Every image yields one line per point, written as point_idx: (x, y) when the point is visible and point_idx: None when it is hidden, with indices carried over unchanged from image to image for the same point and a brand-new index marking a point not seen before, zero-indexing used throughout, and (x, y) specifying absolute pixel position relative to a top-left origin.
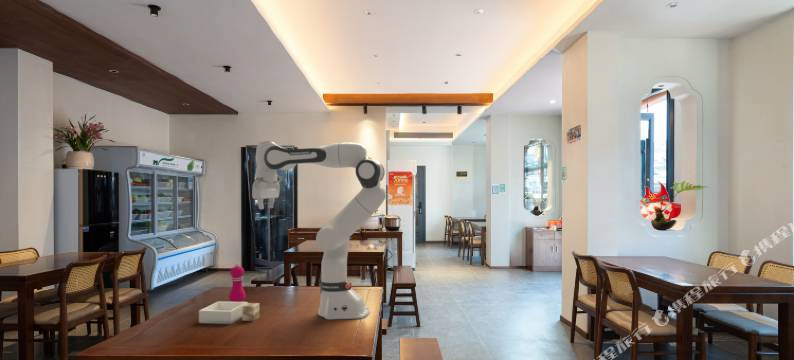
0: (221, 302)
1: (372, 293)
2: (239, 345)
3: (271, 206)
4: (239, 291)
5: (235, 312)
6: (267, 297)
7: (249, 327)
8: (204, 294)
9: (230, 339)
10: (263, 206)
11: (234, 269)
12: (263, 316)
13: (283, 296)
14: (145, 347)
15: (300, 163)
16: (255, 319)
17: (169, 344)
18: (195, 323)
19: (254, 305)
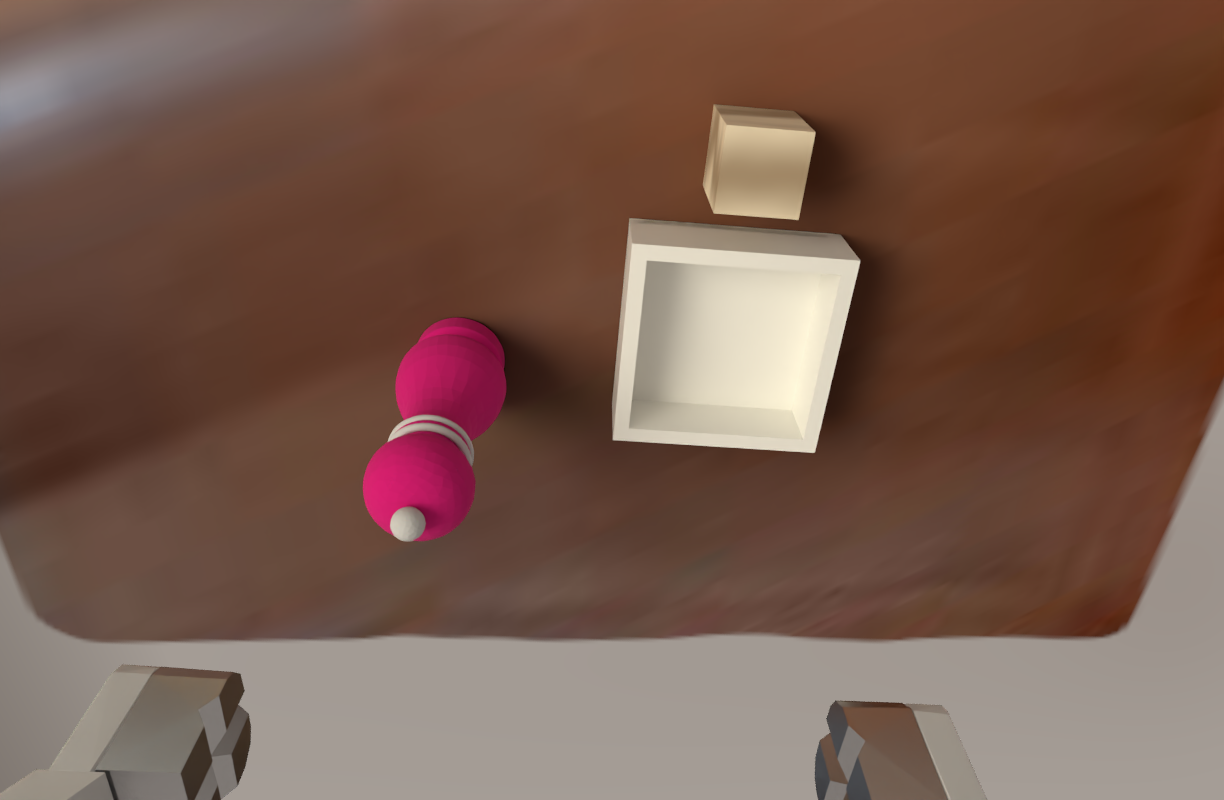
0: (629, 412)
1: None
2: None
3: (213, 717)
4: (474, 380)
5: (799, 248)
6: (219, 236)
7: (926, 86)
8: (243, 637)
9: (1129, 114)
10: (903, 758)
11: (459, 508)
12: (697, 81)
13: (160, 117)
14: (1126, 467)
15: None
16: (772, 109)
17: (1116, 391)
18: None
19: (787, 138)
